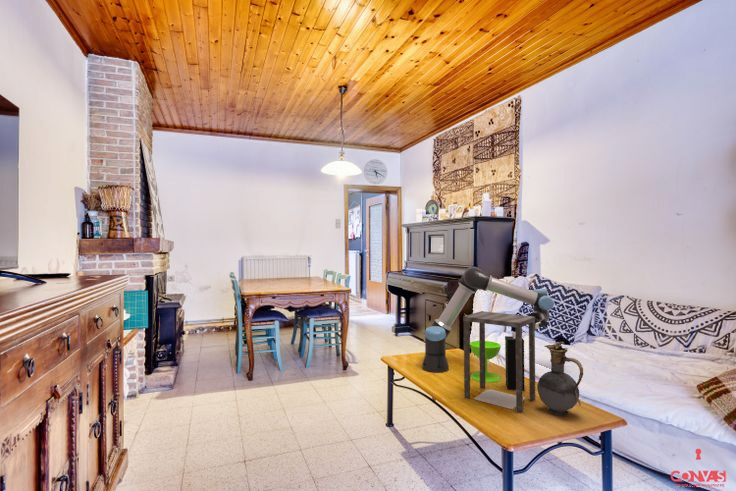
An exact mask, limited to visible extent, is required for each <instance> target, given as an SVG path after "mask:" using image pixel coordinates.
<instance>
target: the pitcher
mask: <svg viewBox="0 0 736 491" xmlns="http://www.w3.org/2000/svg"><path fill="white" fill-rule="evenodd" d="M564 344H565V342H564V341H559V342H554V344H547V345H544V348H547V349H548V350H549V352H550V363H551V364H550V366H551V367H550V368H551V370H550V371H547V372H545V373H543V374H542V375H541V376H540V378H539V379H538V381H537V385H536V386H537V394H538V396H539V399H540V401H541V402H542V403H543V404H544V405H545V406H547V411H548V412H549V413H551V414H552V415H556V416H559V417H565V416H568V415H569V410H572V409H573V408H574V407H575V406H576V405H577V404H579V406H581V404H582V403H581V402H580V401H581V399H580V390H579V385H580V383H581V382H582V378H583V376H584V367H583V365H582V363H581V362H580V361H579V360H578V359H576V358H574V357H567V356H566V353H567V352H568V351H569V349H568V348H567V347H563V346H562V345H564ZM567 362H571V363H574V364H575V365H577V367H578V369H579V375H578V379H577V382H576V379H574V378H573V377H572V376H571V375H569V374H567V373H566V372H565V364H566V363H567Z"/></svg>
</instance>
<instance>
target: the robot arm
mask: <svg viewBox="0 0 736 491" xmlns="http://www.w3.org/2000/svg"><path fill="white" fill-rule="evenodd" d="M458 285H459V286H458V287H457V289H456V290H455V292H454V294H453V295H452V297H451V298H450V300H449V301H448V303H447V305H446V306H445V307H444V309H443V311H442V313H441V314H440V316H439V317H438V318H436V319H434V320H433V322H432V324H431V325H430V326H429V327H426V329H425V330H424V342H425V343H424V345H425V346H424V347H425V348H424V349H425V350H424V352H425V354H424V357H423V360H422V361H423V362H422V365H421V366H422V369H423V370H424V369H425V370H424V371H426V370H427V372H429V371H431V372H430V373H445V372H447V370H448V371H449V369H450V364H449V361H448V359H447V356H446V351H447V350H446V341H447V338H448V336H449V335H450V334H451V332H452V325H453V324H454V322H455V321H456V320H457V318H458V316H459V314H460V313H461V311H462V310H463V308H464V307H465V304H467V302H468V300H469V298H470V297H471V296H472V295H473V294H475V293H477V291H478V290H482V291H484V292H486V291H490V292H493V293H496V294H499V295H502V296H505V297H508V298H511V299H514V300H517V301H519V302H522V303H524V304H525V303H526V304H528V305H531V306H533V312H530V313H529V314H527V316H533V317H535V330H537V329H540V328H544V327H545V328H548V320H549V319H550V317H551V315H550V314H551V313H550V312H549V310H551V309H552V308H553V307H554V305H555V303H554V300H553V298H552V297H550V296H549V294H548V291H547V290H546V289H538V288H537V289H533V290H530V289H527V288H524V287H521V286H519V285H515V284H513V283H510V282H507V281H504V280H502V279H498V278H497V277H493V276H492V275H491V274H489V273H486V272H484V271H483V270H482V269H481V268H479V267H477V266H470V267H468V268H466V269H465V270H464V271H463V274H462V276H461V278H460V279H459V281H458ZM444 371H445V372H444Z"/></svg>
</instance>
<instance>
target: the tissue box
mask: <svg viewBox="0 0 736 491" xmlns="http://www.w3.org/2000/svg"><path fill="white" fill-rule="evenodd" d="M504 340H505V344H504V345H505V346H504V347H505V348H504V349H505V350H504V352H505V354H504V355H505V357H504V358H505V363H504V364H505V386H506V388H507V390H510V391H516V331H513V330H512V331H511V336H510V335H505V336H504ZM522 386H523V391H524V392H525V390H526V389H525V339H524V338H523V337H522Z"/></svg>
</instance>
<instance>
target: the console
mask: <svg viewBox="0 0 736 491" xmlns="http://www.w3.org/2000/svg"><path fill="white" fill-rule="evenodd" d="M462 321H463V379H464V380H463V394H464V395H463V397H464V399H467V400H469V399H471V378H470V375H471V351H470V350H471V348H470V342H471V336H470V335H471V333H470V332H471V330H470V326H471V323H478V324H479V326H478V327H479V332H478V333H479V336H478V337H479V340H478V341H480V358H479V372H480V382H479V389H483V390H484V391H482V392H481V393H480V394H478V395H476V396H475V397H474V398H473V400H475V401H479V402H484V403H486V404H490V405H494V406H497V407H502V408H505V409H510V410H515V412H516V413H520V414H522V413H523V412H524V410H523V409H524V408H523V407H524V406H523V404H524V402H523V401H525V400H526V397H525V396H523V393H524V392H523V386H522V338H523V327H525V326H527V325H528V377H529V379H528V380H529V382H528V383H529V384H528V385H529V389H528V391H529V394H528V395H529V401H531V402H532V401H533V402H535V401H536V341H535V340H536V332H535V331H536V329H535V317H533V316H528V315H523V314H522V315H521V314H512V313H503V312H502V313H501V312H493V311H492V312H491V311H483V310H480V311H477V312H474V313H470V314H467V315H464V316H462ZM486 325H493V326H494V325H495V326H502V327H508V328H509V327H510V328H511V327H512V328H515V332H516V390H515V394H511V393H508V392H503V391H498V390H494V389H492V388H491V389H489V388H487V389H486V383H485V341H486ZM485 389H486V390H485ZM515 408H516V409H515Z"/></svg>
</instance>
